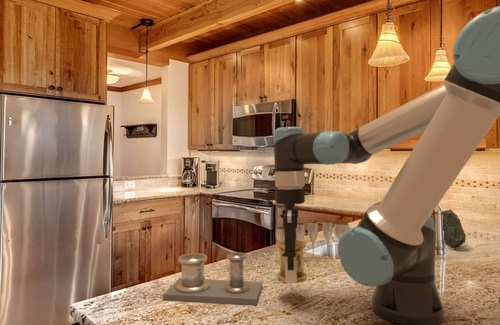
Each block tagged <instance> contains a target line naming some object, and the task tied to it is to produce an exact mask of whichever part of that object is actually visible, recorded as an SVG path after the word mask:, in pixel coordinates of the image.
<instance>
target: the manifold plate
mask: <svg viewBox="0 0 500 325" xmlns="http://www.w3.org/2000/svg"><path fill="white" fill-rule="evenodd" d="M205 279H206V278H205ZM181 280H182V277H180V278H178V279H177V280H176V281H175V282H174V283H173V284H172V285H170V286H169V288H168V289H166V290H165V292H163V293H162V300H163V301H170V302H171V301H175V302H193V303H206V304H207V303H208V304H211V303H212V304H226V305H227V304H228V305H242V306H243V305H245V306H257V305H258V301H259V298H260V296H261V292H262V290H263V281H253V280H251V281H245V280H244V282H245V283H247V284H248V285H249V290H248V291H247V292H244V293H239V294H233V293H228V292H226V291H225V285H226V284H227V283H230V279H227V280H225V279H206V280H208V281H209V282H210V287H209V288H208V289H207V290H205V291H202V292H198V293H182V292H179V291H177V290H176V284H177V283H178V282H179V281H181Z"/></svg>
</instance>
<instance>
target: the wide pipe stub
mask: <svg viewBox="0 0 500 325" xmlns="http://www.w3.org/2000/svg"><path fill="white" fill-rule="evenodd" d="M177 258H178V260H177V261H178V263H179V264H181V265H180V266H181V268H180V269H181V270H180V272H181V278H182V280H181V281H179V282H178V283H177V284H176V290H177V291H179V292H182V293H198V292H202V291H205V290H207V289H208V288H209V287H210V282H209V281H208V280H209V279H208V280H206V278H205V262H207V261H208V256H207V254H205V253H198V252H195V253H193V252H192V253H191V252H190V253H186V254H181V255H180V256H178V257H177Z"/></svg>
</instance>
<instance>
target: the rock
mask: <svg viewBox="0 0 500 325" xmlns="http://www.w3.org/2000/svg"><path fill="white" fill-rule="evenodd" d="M441 213H442V215H443V231H444V239H443V241H444V242H445V243H446V244H447V245H448V246H449V247H451V248H458V247H460V246H462V245H463V244H465V243H466V238H467V235H466V233H465V231H464V228H463V227H462V223H461V219H460V218H459V216H458V215H457V214H456V213H455V212H454V211H453V210H452V209H448V210H446V209H445V210H443V211H442V212H441Z"/></svg>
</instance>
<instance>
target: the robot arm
mask: <svg viewBox="0 0 500 325" xmlns="http://www.w3.org/2000/svg"><path fill="white" fill-rule="evenodd" d="M452 50H453V51H452V56H453V57H452V58H453V65H452V66H451V67H450V69H449V72H448V73H447V75H446V76H445V78H444V80H443V84H441V85H439V86H437V87H435V88H434V89H431V90H430V91H428V92H425V93H422V95H419V96H418V97H415V98H414V99H412V100H409V101H408V102H406V103H404V104H402V105H400V106H399V107H397V108H394V109H393V110H391V111H389V112H387V113H384V115H381V116H380V117H378V118H376V119H373V120H371V121H370V122H368V123H366V124H364V125H362V126H360V127H358V128H357V129H355V130H352V131H351V132H348V133H343V132H342V131H338V130H334V131H333V130H324V131H320V132H313V133H304V129H303V128H302V127H300V126H285V127H283V126H282V127H278V128H276V129H274V130H275V131H274V134H273V135H274V137H273V152H274V158H273V159H274V174H273V175H272V179H273V180H275V181H274V186H275V187H276V189H275V192H274V197H275V198H274V199H275V203H276V204H277V205H284V206H285V207H284V209H282V210H281V215H282V219H283V220H282V227H284V229H285V252H284V254H282V257H285V280H286V283H285V284H297V270H296V252H295V240H297V239H296V228H297V222H298V218H299V209H297V208H296V205H302V204H305V201H306V200H305V198H306V196H305V189H304V188H303V187H305V185H306V184H305V183H306V181H305V178H306V177H305V165H325V166H326V165H327V166H328V165H332V166H333V165H337V164H352V165H353V164H354V165H357V164H360V163H361V164H362V163H365V162H367V161H368V160H370V158H371V157H372V155H376V154H378V153H380V152H382V151H384V150H387V149H389V148H391V147H394V146H395V145H396V146H397V145H398V144H400V143H402V142H404V141H407V140H410V139H412V138H414V137H416V136H419V135H421V136H420V138H419V139H418V141H417V142H416V144H415V145H414V147H413V149H412V151H411V152H410V154H409V155H408V157H407V159H406V160H405V162H404V163H403V165H402V167H401V169H400V171H399V172H398V173H397V175H396V177H395V178H394V180H393V182H392V184H391V185H390V187H389V188H388V190H387V191H386V192H385V193H386V194H385V195H384V196H383V198H382V200H381V201H380V203H379V204H375V205H370V206H368V208H367V209H366V210H365V212H364V214H363V215H362V218H361V219H360V220H359V222H358V224H357V225H356V226H355V227H350V229H349V230H347V231H346V232H345V233H344V234H343V235H342V236H341V238H340V240H339V239H338V240H339V241H338V245H337V255H339V257H340V258H339V259H340V261H339V262H340V264H341V266H342V268H343V270H344V272H345V273H346V274H347V275H348V277H349V278H351V279H352V280H353V281H355V282H356V283H357V284H359V285H362V286H364V287H369V288H370V287H372V288H373V287H375V288H374V292H373V294H372V297H371V298H372V299H371V309H372V311H373V312H374V313H375V314H376V315H378V316H379V317H380V318H382V319H384V320H387V321H389V322H392V323H395V324H399V325H439V324H441V323H442V322H443V321H444V313H445V311H444V306H443V303H442V299H441V297H440V294H439V291H438V288H437V286H436V282H435V281H436V278H435V277H436V276H435V274H436V273H435V272H436V270H435V269H436V260H435V259H436V231H437V230H436V229H435V221H434V218H433V217H432V216H431V215H432V214H433V212H434V211H435V209H436V208H437V207H438V206H439V203H440V202H441V201H442V200H443V198H444V197H445V194H447V192H448V191H449V189H450V188H451V186H452V185H453V183H454V182H455V180H456V179H457V177H458V176H459V174H460V173H461V171H462V170H463V169H464V167H465V166H466V164H467V163H468V162H469V161H470V159H471V158H472V155H473V154H474V153H475V152H476V150H477V149H478V147H479V146H480V144H481V143H482V142H483V140H484V138H485V137H486V135H487V134H488V133H489V131H491V128H492V127H493V125H494V124H495V123H496V121H497V120H498V119H499V117H500V5H498V6H494V7H492V8H490V9H487V10H486V11H485V10H484V11H482V12H481V13H479V14H477V15H476V16H475V17H473V18H472V19H470V20H469V22H467V23H466V25H465V26H463V28H462V29H461V30H460V32H459V33H458V35H457V37H456V39H455V41H454V45H453V49H452ZM287 250H292V251H287Z"/></svg>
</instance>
